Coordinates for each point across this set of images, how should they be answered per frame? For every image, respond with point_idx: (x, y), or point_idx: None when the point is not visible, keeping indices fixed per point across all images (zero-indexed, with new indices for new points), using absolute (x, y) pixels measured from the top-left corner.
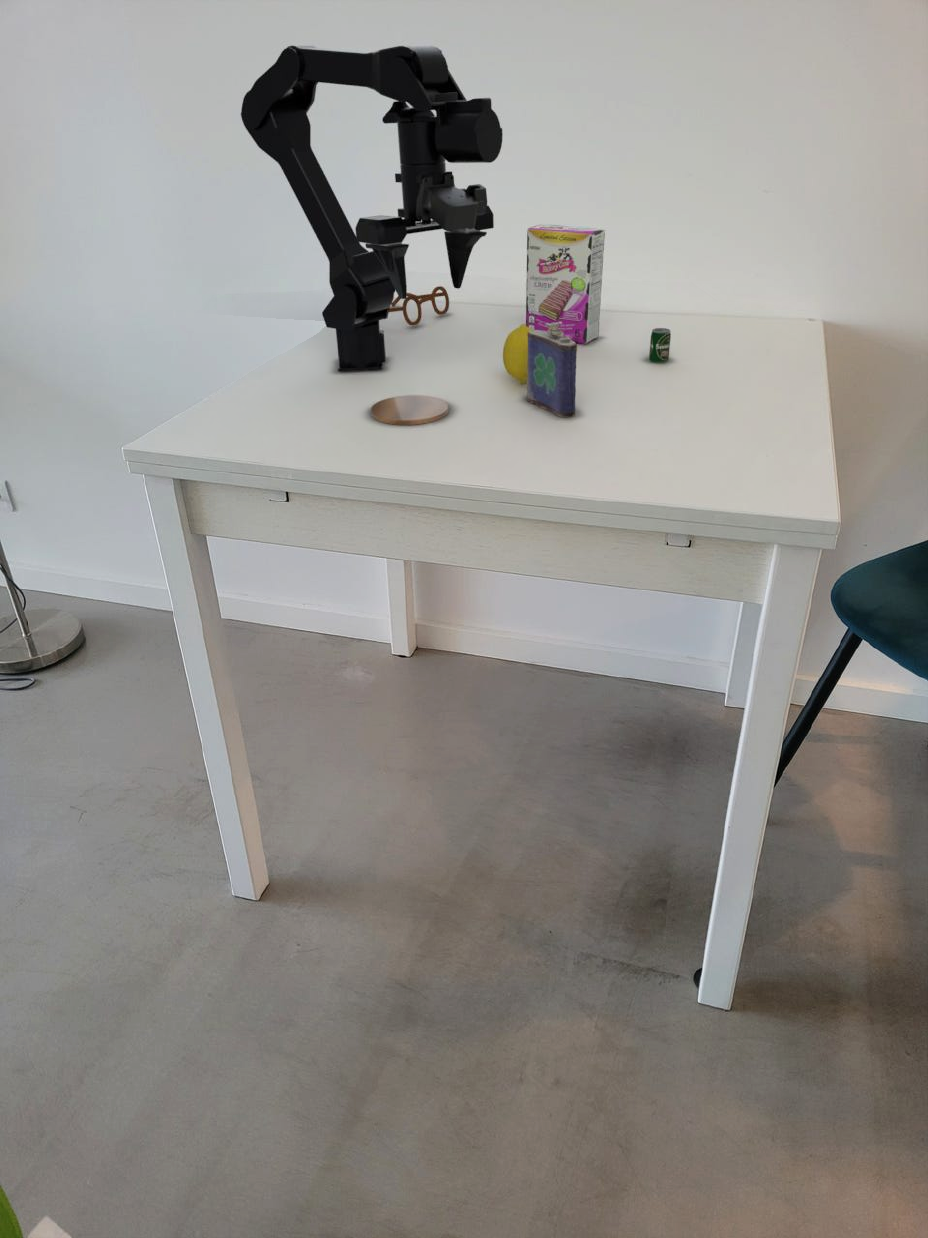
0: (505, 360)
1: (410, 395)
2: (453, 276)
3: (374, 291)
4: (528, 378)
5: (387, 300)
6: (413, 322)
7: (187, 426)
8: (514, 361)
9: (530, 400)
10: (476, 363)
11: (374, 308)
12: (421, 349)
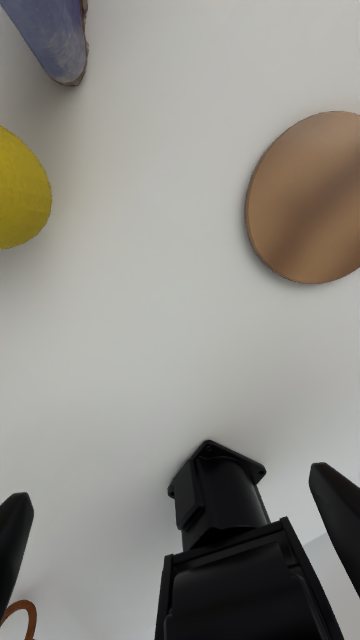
0: (48, 199)
1: (276, 269)
2: (11, 567)
3: (264, 612)
4: (69, 25)
5: (198, 583)
6: (22, 606)
7: None
8: (35, 159)
9: (86, 49)
10: (36, 378)
11: (245, 557)
12: (80, 498)
